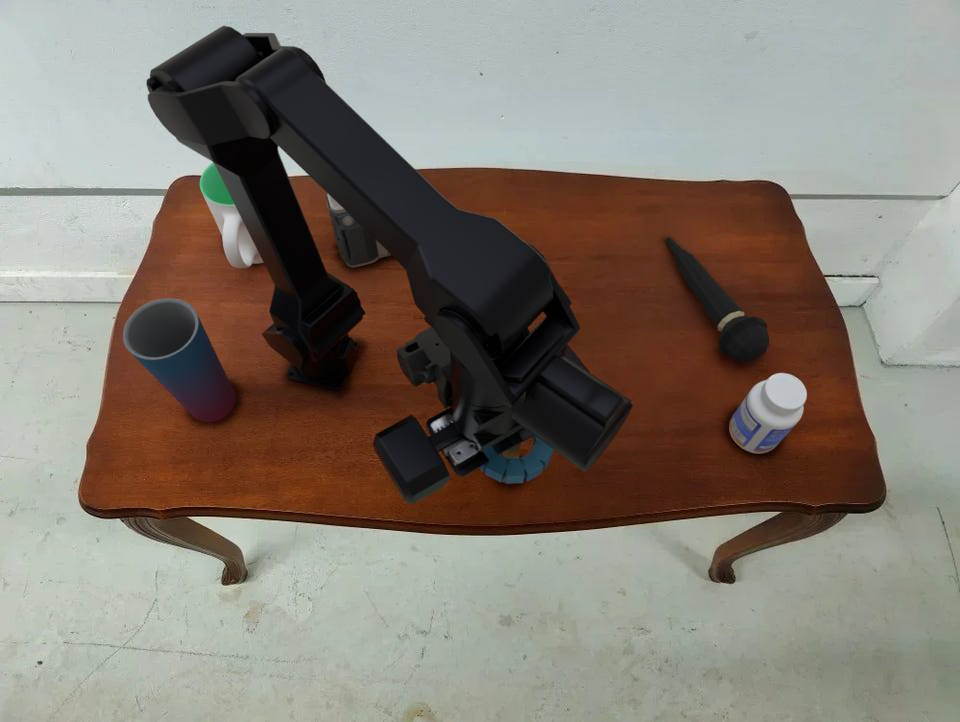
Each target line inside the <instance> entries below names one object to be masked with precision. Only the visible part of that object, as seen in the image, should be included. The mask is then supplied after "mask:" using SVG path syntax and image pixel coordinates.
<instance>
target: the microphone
mask: <svg viewBox="0 0 960 722" xmlns="http://www.w3.org/2000/svg"><path fill="white" fill-rule="evenodd" d="M665 241H666V243H667V245H668V247H669V250H670V251H671V253H672V255H673V256H674V257H673V261H674V262H675V265H676V266H675V267H676V268H677V269H678V271H679V272H680V274H681V275H682V277H683V279H684V280H685V281H686V284H687V285H688V286H689V288H690V289H691V291H692V293H693V294H694V296H695V297H696V299H697V300H698V302H699V304H700V305H701V306H702V308H703V310H704V311H705V313H706V315H707V316H708V318H709V319H710V320H711V322H712V324H713V325H714V327H715V328H716V330H717V331H718V332H720V333H719V337H720V339H719V340H718V349H719V351H720V353H721V354H722V355H723V356H727V357H729V358H730V359H732V360H734V361H735V362H738V363H752V362H755V361H757V360H759V359H760V358H762V357H763V356H764V354H765V353H766V352H767V350H768V349H769V346H770V336H769V332H768V323H767V322H766V321H765V320H764V319H763V318H760V317H757V316H749V315H745V311H743V309H742V308H741V307H740V306H739V305H738V304H737V302H736V301H735V300H734V299H733V298H732V297H731V296H730V294H728V292H726V290H725V289H724V288H723V287H722V286H721V285H720V283H718V281H717V280H716V279H715V278H714V277H713V275H711V274H710V273H709V271H708V270H707V269H706V268H705V267H704V266H703V265H702V263H700V261H698V259H697V257H695V256H694V255H693V254H692V253H691V252H689V251H687V250H686V249H683V248H682V247H681V246H680V245H679V244H678V243H677V242H676V241H674V240H673V239H672V238H671V237H667V238H666V240H665Z"/></svg>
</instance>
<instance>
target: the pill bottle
mask: <svg viewBox="0 0 960 722" xmlns="http://www.w3.org/2000/svg"><path fill="white" fill-rule="evenodd" d="M807 396H808V391H807V389H806V386H805V385H804V383H803V382H802V381H801V380H800V379H799V378H797V377H796V376H795V375H793V374H791V373H785V372H778V373H774V374H772V375H771V376H769V377H768V378H767V379H765V380H761V381H759V382H758V383H756V384H755V385H754V386H752V388H751V389H750V390H749V392H748V393H747V395H746V396H745V397H744V399H743V400H742V402H741V403H740V405H739V406H738V408H737V409H736V411H734V413H733V415H732V417H731V418H730V420H729V424H728V425H729V427H728V428H729V433H730V437H731V439H732V440H733V441H734V442H735V444H736V445H737V446H739V448H741V449H742V450H744V451H746V452H749V453H752V454H758V455H759V454H766V453H769V452H770V451H772V450H773V449H775V448H776V447H777V446H778V445H779V444H780V443H781V442H782V441H783V439H784V438H785V437H787V435H788V434H789V433H790V432H791V431H792V429H794V427H795V426H796V425H797V424H798V423H799V422H800V420H801V418H802V416H803V414H804V410H805V409H804V404H805V403H806V401H807V398H808V397H807Z"/></svg>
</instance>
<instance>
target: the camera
mask: <svg viewBox="0 0 960 722" xmlns="http://www.w3.org/2000/svg"><path fill="white" fill-rule="evenodd" d="M325 202H326V206H327V210H328V213H329V217H330V221H331V225H332V229H333V236H334V239H335V242H336V246H337V249H338V251H339V255H340V258H341V260H342V261H343V262H344V264H345V265H347V266H348V267H349V268H351V269H355V268H360V267H364V266H367V265H371V264H374V263H375V262H377V261H378V260H379V259H381V258H385V257H390V256H392V255H391V254H390V253H389V252H388V251H387V250H386V249H385V248H384V247H383V246H382V245H381V244H380V243H379V242H378V241H377V240H376V239H375V238H374V237H373V236H372V235H371V234H370V233H368V232H367V231H366V230H365V229H364V228H363V227H362V226H361V225H360V224H359V223H358V222H357V221H356V220H355V219H354V218H353V217H352V216H351V215H350V214H349V213H348V212H347V211H346V210H345V209H344V208H342V207H341V206H340V205H339V204H338V203H337V202H336V201H335V200H334V199H333V198H332V197H331V196H330V195H329V194H328V193H327V192H326V196H325Z"/></svg>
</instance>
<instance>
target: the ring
mask: <svg viewBox="0 0 960 722" xmlns="http://www.w3.org/2000/svg"><path fill="white" fill-rule="evenodd" d="M531 439H532V443H533V444H532V445H533V446H532V448H531V450H530V451H529V452H528V453H526V454H525V455H523V456H522V457H519V458H509V459H508V458H506V457H504V456H503V454H501V453H500V454H498V453H497V452H496V451H495V449H494V448H493V446H491V447H489V448H487V449H485V450H484V451H483V452H484V454H485V455H486V456H487V458H488V459H489V462H488V463H486V464H485V465H483V466H481V467H480V468H479V469H480V472H482V473H483V472H485V476H487V477H488V478H491V479H493V480H495V481H497V482H499V483H503V482H502V480H503V479H504V477H505V484H523V483H524V480H525V481H526V482H529V481H531V480H533V479H535V478H536V477H537V476H540V475H541V474H542V473H543V471H545V470H546V468H547V467H548V465H549V463H550V461H551V459H552V457H553V454H554V451H555V450H554V449H552V448H551V447H550V446H548V445H547V444H546V443H544V442H543V441H541V440H540V439H539V438H537V437H536V436H535V435H534V436H533V437H531Z"/></svg>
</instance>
